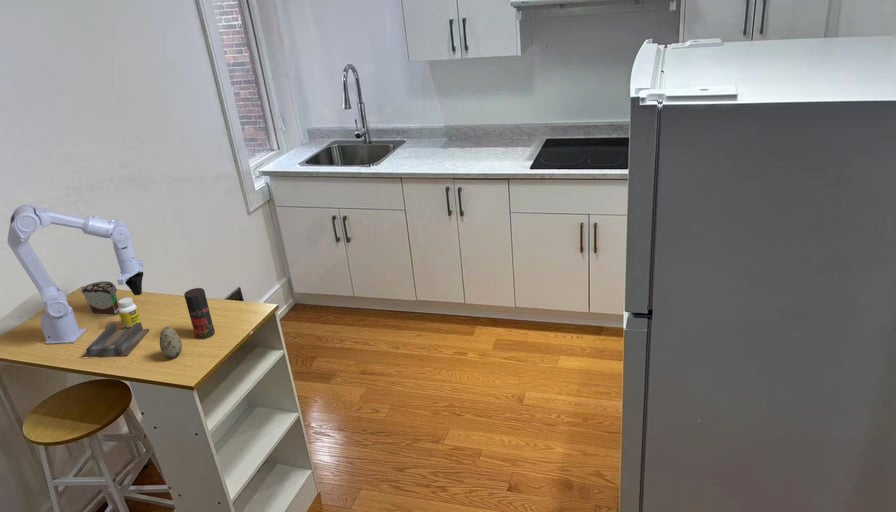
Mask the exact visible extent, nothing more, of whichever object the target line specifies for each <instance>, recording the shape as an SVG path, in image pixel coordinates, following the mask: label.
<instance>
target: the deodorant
mask: <svg viewBox="0 0 896 512" xmlns="http://www.w3.org/2000/svg"><path fill="white" fill-rule="evenodd" d="M183 295H184V300H185V305H186V307H187V311H188V314H189V317H190V321H191V326H192V329H193V333H194V337H195V339H197V340H206V339H209V338H211V337H213V336H214V335H215V333H216V331H215V328H214V324H213V323H214V322H213V319H212V315H211V312H210V307H209V303H208V300H207V295H206V292H205V289H204V288H201V287H195V288H192V289H191V288H190V289H188V290H186V291H185V292H184V293H183Z"/></svg>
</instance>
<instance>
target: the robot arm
mask: <svg viewBox="0 0 896 512" xmlns="http://www.w3.org/2000/svg"><path fill="white" fill-rule="evenodd" d="M40 225H41V229H45V228H46V227H49V226H51V225H56V226H61V227H68V228H74V229H80V230H81V231H82V233H83V234H85V235H90V236H94V237H99V238H103V239H111V241H112V244H113V247H112V248H113V249H114V254H115V256H116V260H117V264H118V267H119V270H120V273H119V276H118V278H117V279H116V282H117V285H118V286H125V285H126V286H127V287H128V288H129V290H130V292H131V293H132V294H133V296H141V295H142V294H143V293H142V292H143V287H142V286H143V284H142V283H143V277H144V272H143V271H144V267H145V262H144V260H143V259H140V260H139V259H138V257H137V253H136V250H135V248H134V244H133V242H132V238H131V231H130V230H129V227H128V226H127V224H126V223H125V222H123V221H120V220H119V219H116V220H115V219H109V220H108V219H104V218H100V217H99V215H96V214H93V216H91V215H89V216H86V217H83V218H82V217H78V216H75V215H71V214H67V213H64V212H60V211H56V210H52V209H48V208H45V207H43V206H32V205H29V204H21V205H19V206H17V207H16V208H15V209H14V211H13V212H12V215H11V216H10V222H9V227H8V235H7V244H8V246H9V248H10V249H11V251H12V252H13V254H14V255H15V257H16V258H17V261H19V263H20V265H21V266H22V268H23V269H24V271H25V272H26V274H27V276H28V277H29V279H30V280H31V282H32V283H33V284H34V286H35V288H36V289H37V291H38V292H39V295H40V297H41V300H42V301H43V303H44V305H45V313H43V314H42V316H41V317H40V320H39V321H40V322H39V324H40V327H41V330H42V332H43V335H44V338H45V342H44V344H46V345H47V344H49V345H50V344H69V343H71V344H72V343H75V342H76V341H77V340H78V339H79V338H80V337H81V336H82V335H83V334H84V333H85V332H86V331H87V328H80V327H79V324H78V322H77V318H76V316H75V313H74V310H73V307H72V306H70V305H69V303H68V296H67V294H66V292H65V291H64V290H63V289H60V288H59V287H58V286H57V284H56V283H55V282H54V281H53V280H52V278H51V277H50V275H49V273H48V272H47V270H46V268H45V266H44V265H43V264H42V261H41V260H40V259H39V256H37V254H36V252H35V251H34V249H33V248H32V246H31V245H30V243H29V240H30V238H31V235H33V234H34V233H36V231H37V230H38V229H39V228H40Z"/></svg>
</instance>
